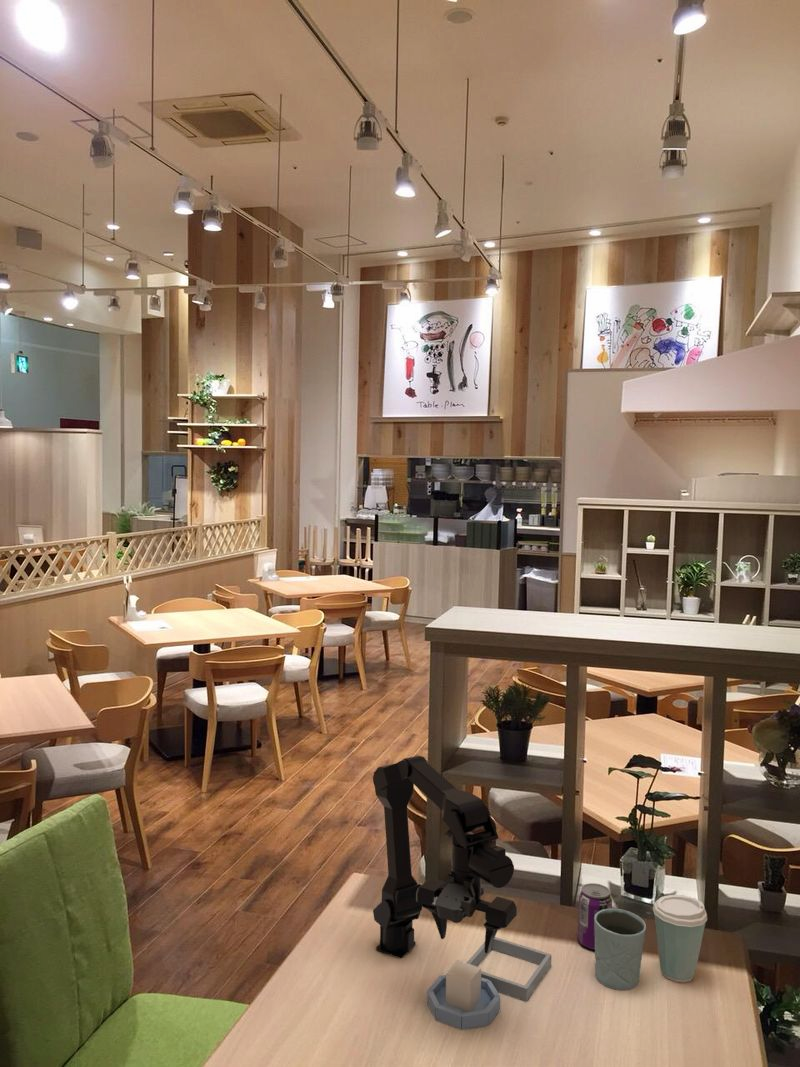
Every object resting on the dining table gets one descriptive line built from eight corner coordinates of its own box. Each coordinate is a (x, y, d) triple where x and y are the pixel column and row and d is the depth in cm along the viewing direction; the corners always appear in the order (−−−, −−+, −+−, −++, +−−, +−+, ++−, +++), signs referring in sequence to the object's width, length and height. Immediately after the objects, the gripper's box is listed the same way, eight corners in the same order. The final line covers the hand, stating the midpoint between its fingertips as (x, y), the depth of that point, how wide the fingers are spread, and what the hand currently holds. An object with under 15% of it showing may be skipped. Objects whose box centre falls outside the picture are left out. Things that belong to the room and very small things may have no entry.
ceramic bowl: (417, 1013, 158) (417, 1000, 158) (448, 978, 169) (448, 966, 169) (480, 1036, 152) (480, 1023, 152) (508, 998, 163) (508, 986, 163)
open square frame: (462, 979, 169) (462, 967, 169) (489, 946, 181) (490, 935, 181) (526, 1001, 162) (527, 989, 162) (551, 966, 174) (551, 954, 174)
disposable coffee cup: (646, 980, 170) (649, 908, 169) (654, 953, 179) (656, 885, 178) (702, 994, 165) (705, 921, 164) (707, 966, 175) (709, 896, 174)
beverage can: (611, 954, 179) (613, 899, 178) (577, 950, 180) (579, 896, 179) (610, 936, 186) (611, 884, 185) (577, 932, 187) (578, 880, 186)
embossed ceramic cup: (591, 961, 176) (593, 905, 176) (641, 966, 174) (643, 911, 174) (593, 989, 166) (595, 931, 166) (646, 996, 165) (648, 937, 164)
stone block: (445, 1003, 160) (446, 973, 159) (457, 989, 164) (457, 960, 164) (469, 1012, 157) (470, 981, 157) (480, 998, 162) (481, 967, 161)
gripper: (402, 870, 157) (401, 951, 158) (494, 896, 147) (492, 982, 148) (430, 848, 166) (429, 924, 167) (518, 871, 157) (516, 951, 158)
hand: (464, 945), depth 160 cm, fingers open, 9 cm apart
